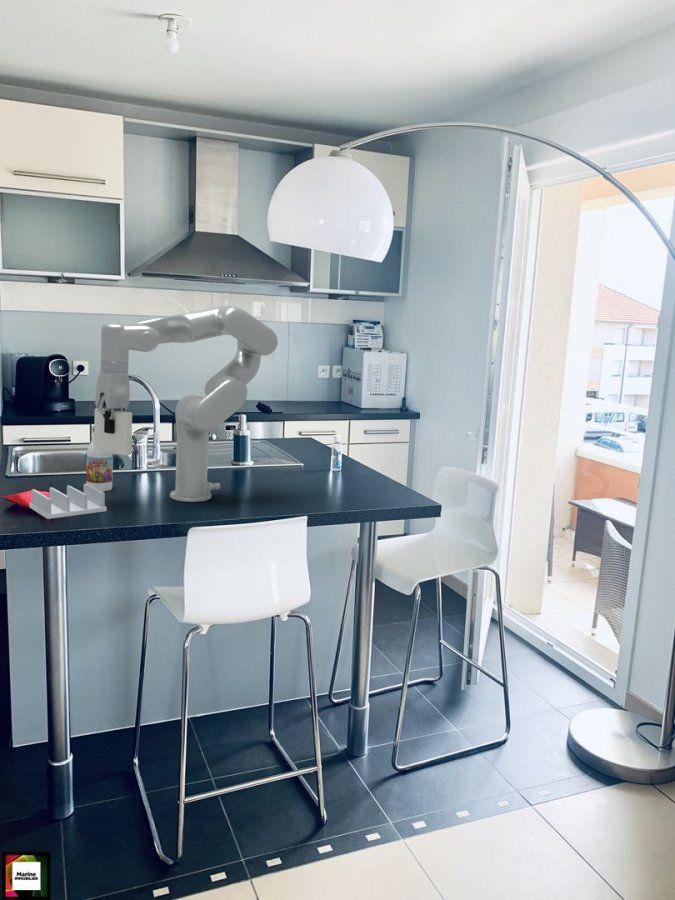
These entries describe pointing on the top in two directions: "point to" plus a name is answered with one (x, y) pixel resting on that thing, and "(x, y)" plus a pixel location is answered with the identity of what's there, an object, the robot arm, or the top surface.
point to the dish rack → (68, 502)
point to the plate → (120, 438)
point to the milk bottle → (99, 468)
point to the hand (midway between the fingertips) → (112, 431)
